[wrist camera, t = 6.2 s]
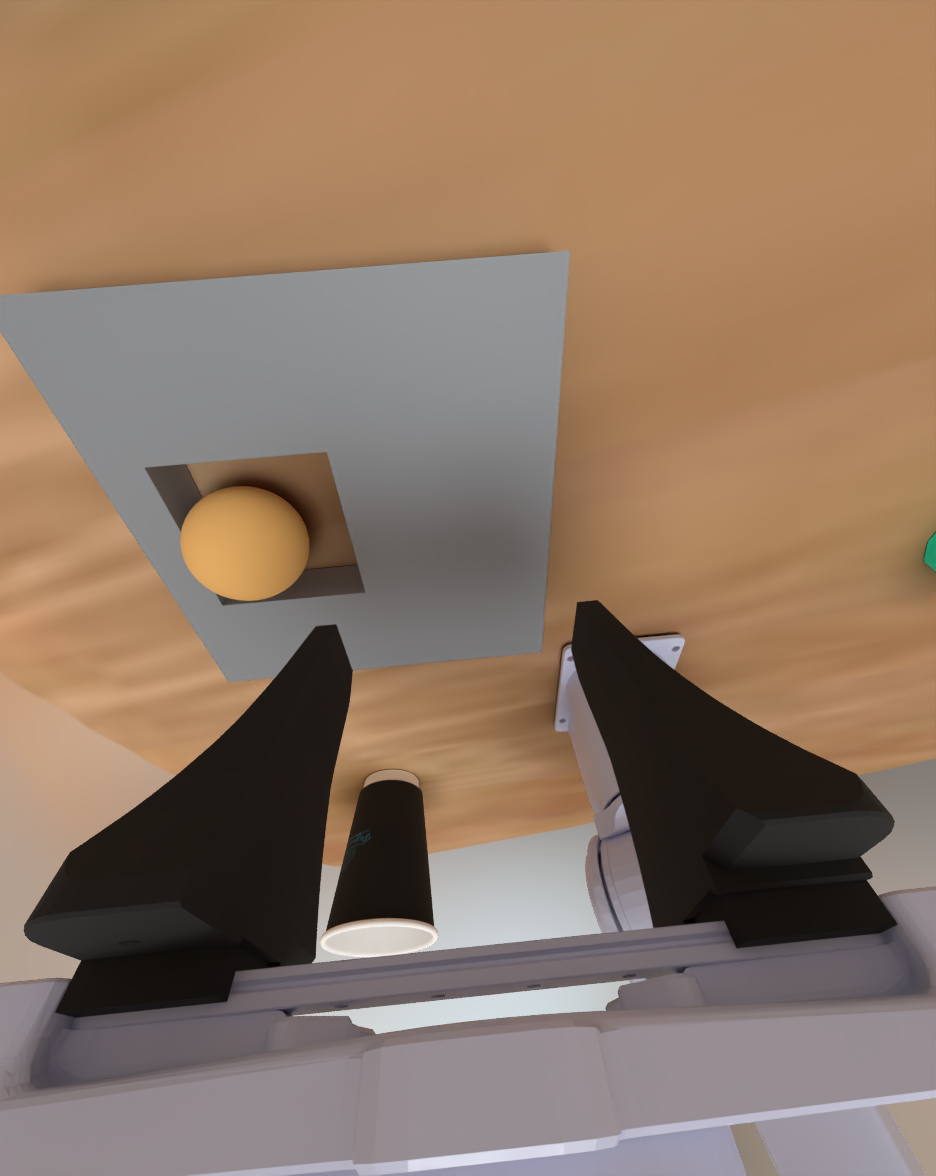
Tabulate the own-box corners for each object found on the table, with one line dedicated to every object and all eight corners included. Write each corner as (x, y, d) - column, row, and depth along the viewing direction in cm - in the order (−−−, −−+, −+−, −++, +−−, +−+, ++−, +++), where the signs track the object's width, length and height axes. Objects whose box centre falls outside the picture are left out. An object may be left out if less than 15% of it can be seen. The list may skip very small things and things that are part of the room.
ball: (219, 590, 21) (311, 545, 22) (231, 642, 17) (341, 584, 19) (151, 501, 18) (264, 457, 19) (149, 541, 14) (288, 482, 16)
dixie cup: (340, 761, 34) (308, 930, 25) (436, 757, 35) (438, 921, 26) (352, 806, 39) (329, 961, 30) (436, 802, 39) (438, 952, 31)
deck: (533, 623, 26) (541, 652, 24) (244, 649, 25) (228, 681, 24) (551, 253, 15) (570, 250, 13) (39, 292, 14) (-23, 297, 12)
